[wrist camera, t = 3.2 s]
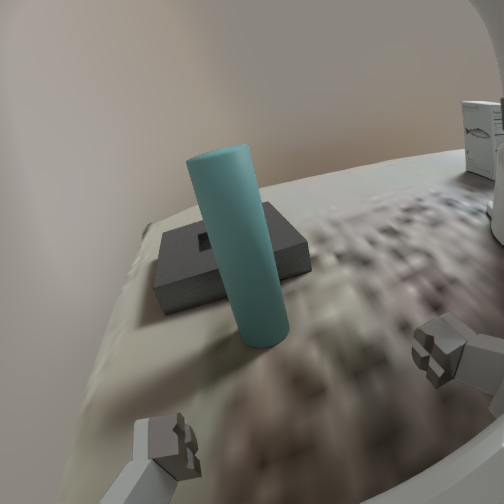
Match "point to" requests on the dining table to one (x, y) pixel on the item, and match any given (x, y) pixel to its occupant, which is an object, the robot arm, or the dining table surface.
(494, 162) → the supplement box
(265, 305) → the peg
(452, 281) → the dining table surface
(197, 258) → the socket block
